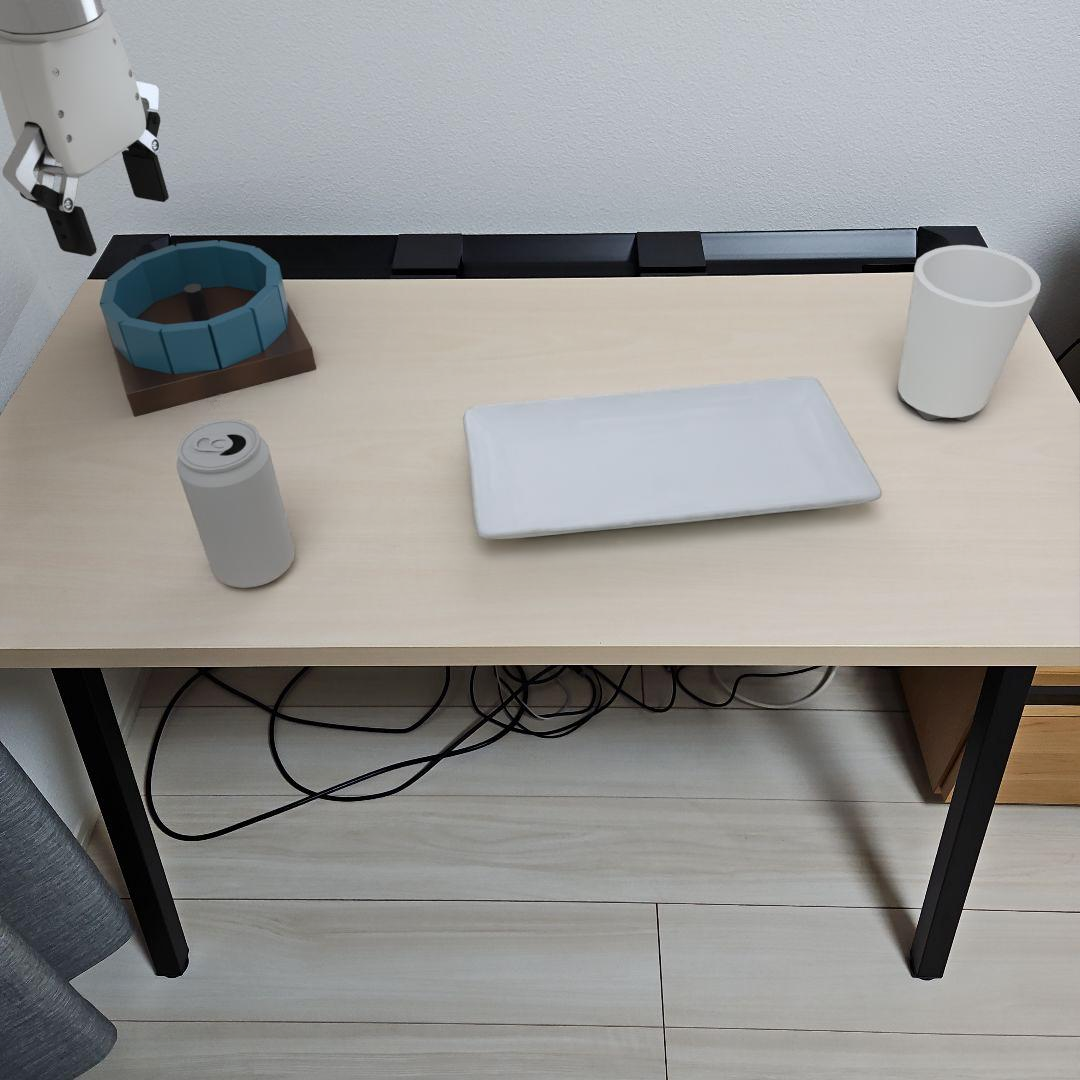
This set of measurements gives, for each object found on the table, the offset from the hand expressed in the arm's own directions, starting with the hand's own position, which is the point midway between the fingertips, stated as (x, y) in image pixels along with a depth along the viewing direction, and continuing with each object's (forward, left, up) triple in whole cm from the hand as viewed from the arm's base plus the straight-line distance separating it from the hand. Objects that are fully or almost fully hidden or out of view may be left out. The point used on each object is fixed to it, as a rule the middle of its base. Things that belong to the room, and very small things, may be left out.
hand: (117, 224), depth 87 cm
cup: (+63, -33, -16) cm, 73 cm away
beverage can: (+2, -27, -16) cm, 32 cm away
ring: (+5, +5, -14) cm, 15 cm away
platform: (+5, +5, -16) cm, 18 cm away
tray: (+35, -32, -16) cm, 50 cm away
